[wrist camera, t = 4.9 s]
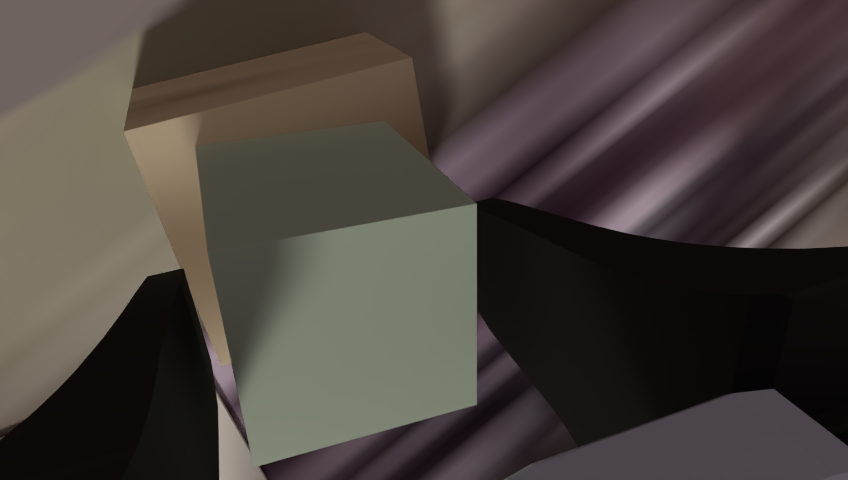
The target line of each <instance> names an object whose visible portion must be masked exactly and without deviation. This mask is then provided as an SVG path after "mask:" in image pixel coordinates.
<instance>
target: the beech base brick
mask: <svg viewBox="0 0 848 480" xmlns="http://www.w3.org/2000/svg"><path fill="white" fill-rule="evenodd" d="M377 121H385V122H387V123H388V124H389V125H390V126H391V127H392V128H393V129H394V130H395V131H397V132H398V133H399V134H400V135H401V136H402V137H403V138H404V139H406V140H407V141H408V142H409V143H410V144H411V145H412V146H413V147H414V148H416V149H417V150H418V151H419V152H420V153H421V154H422V155H423V156H424V157H426V158H427V159H428V160H429V161H430V158H429V153H428V147H427V141H426V135H425V129H424V123H423V118H422V112H421V106H420V100H419V94H418V89H417V83H416V77H415V71H414V65H413V59H412V57H411V56H409V55H407V54H405V53H403V52H402V51H400V50H398V49H396V48H394V47H392V46H391V45H389V44H387V43H385V42H383V41H382V40H380V39H378V38H376V37H374V36H372V35H371V34H369V33H367V32H363V33H359V34H355V35H351V36H347V37H343V38H338V39H334V40H330V41H326V42H322V43H318V44H314V45H310V46H306V47H301V48H297V49H293V50H289V51H285V52H281V53H277V54H273V55H269V56H264V57H260V58H256V59H252V60H248V61H244V62H240V63H236V64H232V65H227V66H223V67H219V68H215V69H211V70H207V71H203V72H199V73H195V74H190V75H186V76H182V77H178V78H174V79H170V80H166V81H162V82H158V83H153V84H149V85H145V86H141V87H137V88H133V89H132V93H131V98H130V102H129V107H128V112H127V117H126V122H125V127H124V134H125V136H126V139H127V141H128V143H129V146H130V148H131V151H132V153H133V155H134V158H135V160H136V163H137V165H138V167H139V170H140V172H141V175H142V177H143V179H144V182H145V184H146V187H147V189H148V191H149V194H150V196H151V199H152V201H153V203H154V206H155V208H156V210H157V213H158V215H159V218H160V220H161V222H162V225H163V227H164V230H165V232H166V234H167V237H168V239H169V242H170V244H171V246H172V249H173V251H174V254H175V256H176V258H177V261H178V263H179V266H180V268H181V269H183V268H184V271H185V275H186V278H187V281H188V285H189V288H190V292H191V294H192V297H193V299H194V301H195V304H196V306H197V309H198V311H199V313H200V316H201V318H202V321H203V323H204V325H205V328H206V330H207V333H208V335H209V337H210V340H211V342H212V345H213V347H214V349H215V352H216V354H217V356H218V359H219V361H220V364H221V366H222V367H223V366H226V365H229V364H231V359H230V354H229V350H228V345H227V340H226V336H225V331H224V326H223V322H222V317H221V313H220V308H219V303H218V299H217V294H216V289H215V285H214V280H213V276H212V271H211V266H210V262H209V257H208V252H207V244H206V235H205V227H204V218H203V210H202V201H201V193H200V184H199V176H198V167H197V159H196V151H195V146H202V145H209V144H216V143H223V142H231V141H238V140H245V139H253V138H260V137H267V136H275V135H282V134H289V133H297V132H304V131H311V130H319V129H326V128H333V127H341V126H348V125H355V124H363V123H370V122H377Z"/></svg>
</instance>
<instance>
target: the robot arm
mask: <svg viewBox="0 0 848 480" xmlns="http://www.w3.org/2000/svg"><path fill="white" fill-rule="evenodd" d="M476 203H477V309H478V311H479V313H480V314H481V316H482V318H483V319H484V321H485V323H486V324H487V326H488V328H489V329H490V330H491V332H492V333H493V334H494V336H495V337H496V338H497V340H498V341H499V342H500V343H501V345H502V346H503V347H504V348H505V350H506V351H507V352H508V353H509V355H510V356H511V357H512V358H513V360H514V361H515V362H516V363H517V365H518V366H519V367H520V368H521V370H522V371H523V372H524V373H525V374H526V376H527V377H528V378H529V379H530V381H531V382H532V383H533V384H534V386H535V387H536V388H537V389H538V391H539V392H540V393H541V394H542V395H543V397H544V398H545V399H546V400H547V402H548V403H549V404H550V406H551V407H552V408H553V410H554V411H555V412H556V414H557V415H558V416H559V418H560V419H561V421H562V422H563V424H564V425H565V427H566V428H567V430H568V431H569V433H570V435H571V436H572V438H573V439H574V441H575V443H576V444H577V446H578V448H575V449H572V450H569V451H566V452H564V453H561V454H558V455H555V456H552V457H550V458H547V459H544V460H541V461H538V462H536V463H533V464H531V465H529V466H527V467H525V468H524V469H522V470H520V471H518V472H516V473H515V474H513V475H511V476H509V477H508V478H506V479H504V480H848V247H829V248H810V249H765V248H737V247H723V246H711V245H699V244H690V243H681V242H673V241H667V240H661V239H655V238H649V237H643V236H637V235H632V234H627V233H623V232H618V231H614V230H610V229H606V228H602V227H598V226H594V225H590V224H586V223H582V222H579V221H575V220H572V219H568V218H565V217H561V216H558V215H555V214H551V213H548V212H545V211H541V210H538V209H535V208H531V207H528V206H524V205H521V204H517V203H514V202H510V201H506V200H501V199H494V198H490V199H485V200H481V201H477V202H476ZM0 480H219V425H218V403H217V396H216V389H215V383H214V377H213V370H212V364H211V359H210V356H209V352H208V349H207V346H206V342H205V339H204V336H203V332H202V329H201V325H200V322H199V319H198V315H197V312H196V308H195V305H194V302H193V298H192V295H191V292H190V288H189V285H188V281H187V278H186V275H185V271H184V268H183V269H178V270H174V271H170V272H165V273H161V274H157V275H152V276H148V277H147V278H146V279H145V280H144V282H143V283H142V285H141V286H140V287H139V289H138V290H137V292H136V293H135V294H134V296H133V297H132V299H131V300H130V302H129V303H128V305H127V306H126V307H125V309H124V310H123V312H122V313H121V315H120V316H119V317H118V319H117V320H116V322H115V323H114V324H113V326H112V327H111V328H110V330H109V331H108V332H107V334H106V335H105V336H104V338H103V339H102V340H101V341H100V342H99V344H98V345H97V346H96V347H95V348H94V350H93V351H92V352H91V353H90V354H89V355H88V357H87V358H86V359H85V360H84V361H83V363H82V364H81V365H80V366H79V367H78V368H77V370H76V371H75V372H74V373H73V374H72V375H71V376H70V377H69V378H68V379H67V380H66V381H65V382H64V383H63V385H62V386H61V387H60V388H59V389H58V390H57V391H56V392H55V393H53V394H52V395H51V396H50V397H49V398H48V399H47V400H46V401H45V402H44V403H43V404H42V405H41V406H40V407H39V408H38V409H37V410H36V411H34V412H33V413H32V414H31V415H30V416H29V417H28V418H27V419H25V420H24V421H23V422H22V423H20V424H19V425H18V426H17V427H16V428H14V429H13V430H12V431H11V432H9V433H8V434H7V435H6V436H4V437H3V438H2V439H1V440H0Z"/></svg>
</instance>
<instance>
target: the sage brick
mask: <svg viewBox="0 0 848 480" xmlns="http://www.w3.org/2000/svg"><path fill="white" fill-rule="evenodd" d="M195 151H196V159H197V167H198V176H199V184H200V193H201V201H202V210H203V218H204V227H205V235H206V244H207V252H208V257H209V262H210V266H211V271H212V276H213V280H214V285H215V289H216V294H217V299H218V303H219V308H220V313H221V317H222V322H223V326H224V331H225V336H226V340H227V345H228V350H229V354H230V359H231V363H232V368H233V373H234V377H235V382H236V387H237V391H238V396H239V400H240V405H241V410H242V414H243V419H244V424H245V428H246V433H247V438H248V442H249V447H250V451H251V456H252V461H253V465H254V467H257V466H261V465H264V464H268V463H271V462H275V461H278V460H282V459H285V458H289V457H293V456H296V455H300V454H303V453H307V452H310V451H314V450H318V449H321V448H325V447H328V446H332V445H335V444H339V443H342V442H346V441H350V440H353V439H357V438H360V437H364V436H367V435H371V434H374V433H378V432H382V431H385V430H389V429H392V428H396V427H399V426H403V425H407V424H410V423H414V422H417V421H421V420H424V419H428V418H431V417H435V416H439V415H442V414H446V413H449V412H453V411H456V410H460V409H463V408H467V407H471V406H474V405H477V203H476V202H474V201H473V200H472V199H471V198H470V197H469V196H468V195H467V194H466V193H464V192H463V191H462V190H461V189H460V188H459V187H458V186H457V185H456V184H454V183H453V182H452V181H451V180H450V179H449V178H448V177H447V176H446V175H444V174H443V173H442V172H441V171H440V170H439V169H438V168H437V167H436V166H434V165H433V164H432V163H431V162H430V161H429V160H428V159H427V158H426V157H424V156H423V155H422V154H421V153H420V152H419V151H418V150H417V149H416V148H414V147H413V146H412V145H411V144H410V143H409V142H408V141H407V140H406V139H404V138H403V137H402V136H401V135H400V134H399V133H398V132H397V131H395V130H394V129H393V128H392V127H391V126H390V125H389V124H388V123H387V122H385V121H377V122H370V123H363V124H355V125H348V126H341V127H333V128H326V129H319V130H311V131H304V132H297V133H289V134H282V135H275V136H267V137H260V138H253V139H245V140H238V141H231V142H223V143H216V144H209V145H202V146H195Z"/></svg>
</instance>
